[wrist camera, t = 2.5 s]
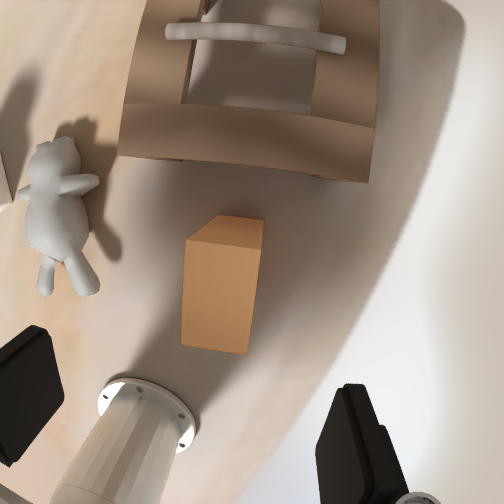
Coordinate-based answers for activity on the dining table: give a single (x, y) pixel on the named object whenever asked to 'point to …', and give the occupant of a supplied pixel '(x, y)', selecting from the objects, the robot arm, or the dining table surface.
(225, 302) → the orange boxy part
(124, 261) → the dining table surface
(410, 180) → the dining table surface
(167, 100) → the brown square frame
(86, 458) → the robot arm
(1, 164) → the medicine bottle
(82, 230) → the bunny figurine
